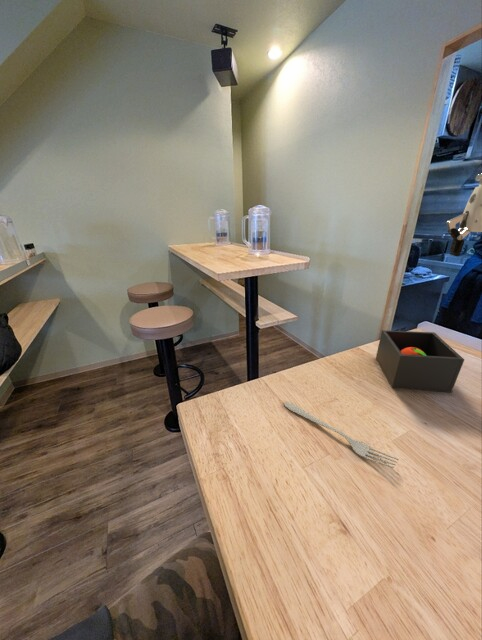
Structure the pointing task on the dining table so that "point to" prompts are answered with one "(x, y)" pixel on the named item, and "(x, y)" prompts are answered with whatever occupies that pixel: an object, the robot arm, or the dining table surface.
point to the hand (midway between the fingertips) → (475, 255)
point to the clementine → (412, 351)
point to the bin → (418, 361)
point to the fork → (356, 446)
